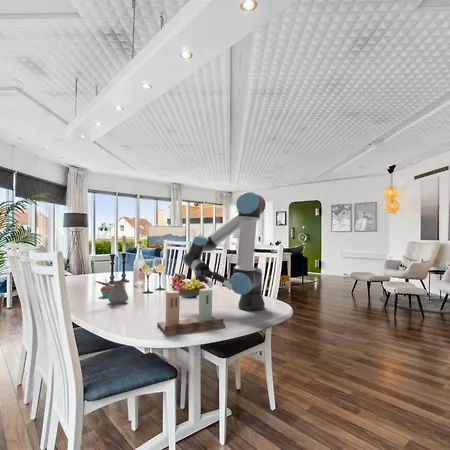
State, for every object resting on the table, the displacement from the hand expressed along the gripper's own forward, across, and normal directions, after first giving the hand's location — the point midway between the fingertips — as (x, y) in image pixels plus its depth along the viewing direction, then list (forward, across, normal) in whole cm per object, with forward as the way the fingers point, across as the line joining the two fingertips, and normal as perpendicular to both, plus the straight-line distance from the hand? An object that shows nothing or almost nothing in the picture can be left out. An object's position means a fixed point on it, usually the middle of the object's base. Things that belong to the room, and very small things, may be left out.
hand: (221, 286), depth 151 cm
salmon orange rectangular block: (+4, +24, -18) cm, 30 cm away
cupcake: (-74, +22, -49) cm, 92 cm away
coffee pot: (-51, +28, -42) cm, 72 cm away
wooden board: (+9, +16, -17) cm, 25 cm away
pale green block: (+7, +9, -14) cm, 18 cm away
